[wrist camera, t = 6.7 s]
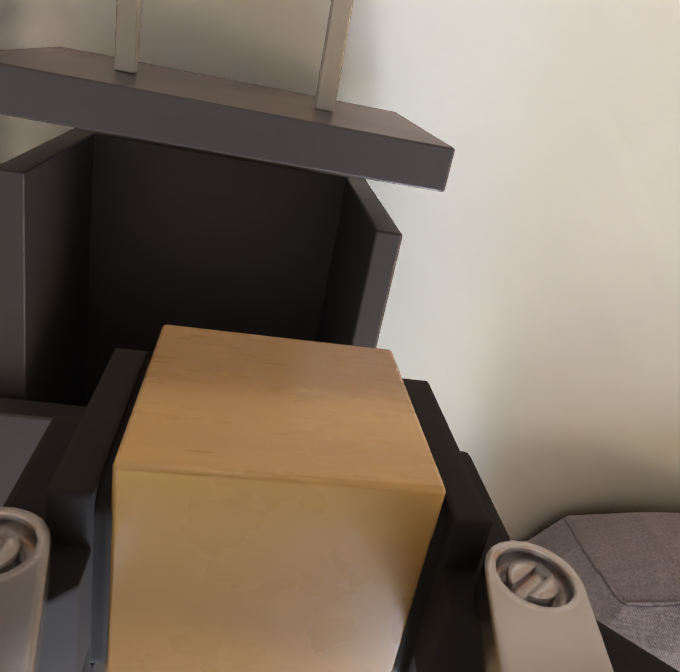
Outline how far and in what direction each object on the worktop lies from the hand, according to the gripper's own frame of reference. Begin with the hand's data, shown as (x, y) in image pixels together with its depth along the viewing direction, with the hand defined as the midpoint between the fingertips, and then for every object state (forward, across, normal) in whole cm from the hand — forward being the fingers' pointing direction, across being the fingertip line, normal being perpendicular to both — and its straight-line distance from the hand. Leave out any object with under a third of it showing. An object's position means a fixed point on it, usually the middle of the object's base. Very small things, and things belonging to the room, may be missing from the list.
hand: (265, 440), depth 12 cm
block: (0, 0, 0) cm, 0 cm away
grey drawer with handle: (+16, +2, 0) cm, 16 cm away
